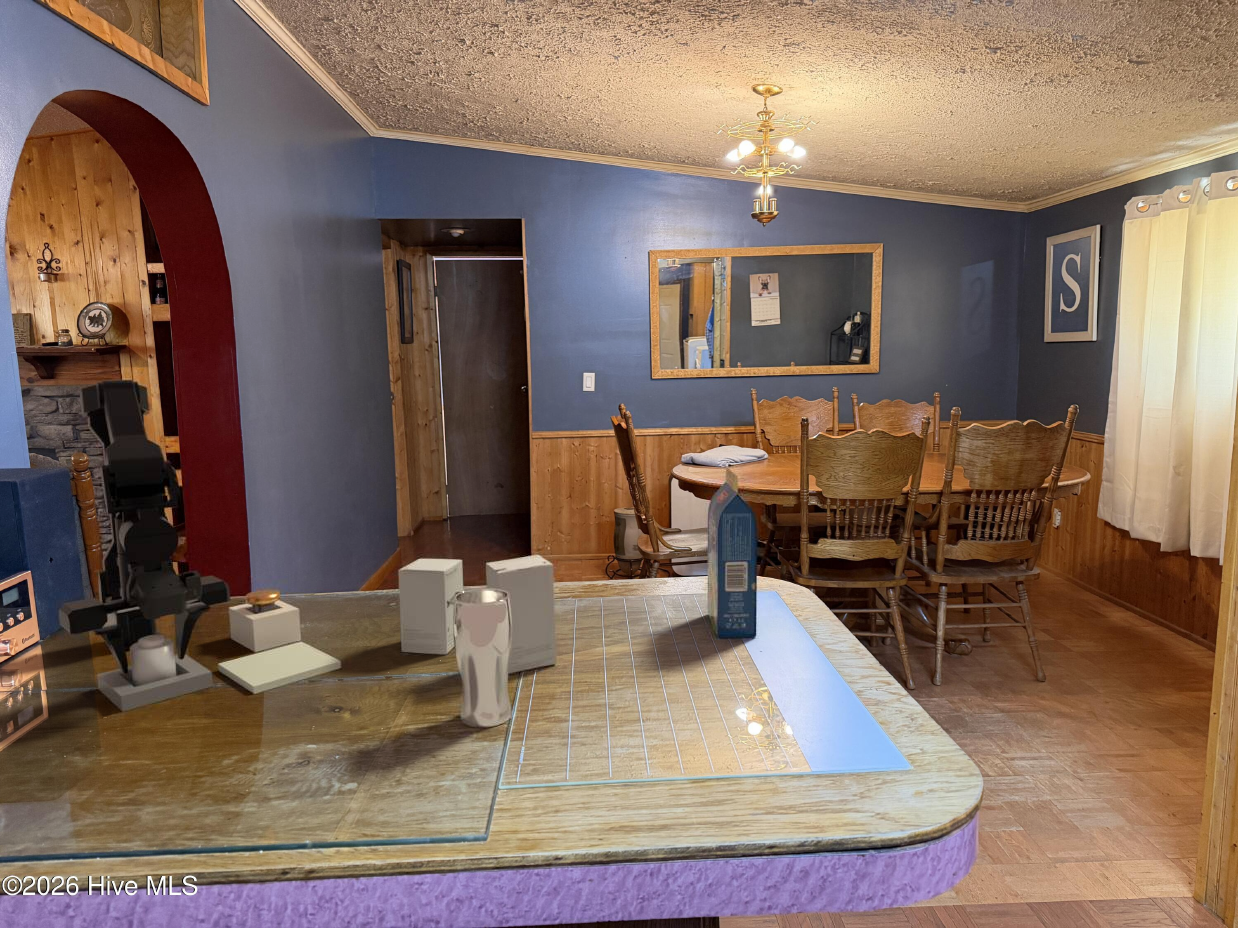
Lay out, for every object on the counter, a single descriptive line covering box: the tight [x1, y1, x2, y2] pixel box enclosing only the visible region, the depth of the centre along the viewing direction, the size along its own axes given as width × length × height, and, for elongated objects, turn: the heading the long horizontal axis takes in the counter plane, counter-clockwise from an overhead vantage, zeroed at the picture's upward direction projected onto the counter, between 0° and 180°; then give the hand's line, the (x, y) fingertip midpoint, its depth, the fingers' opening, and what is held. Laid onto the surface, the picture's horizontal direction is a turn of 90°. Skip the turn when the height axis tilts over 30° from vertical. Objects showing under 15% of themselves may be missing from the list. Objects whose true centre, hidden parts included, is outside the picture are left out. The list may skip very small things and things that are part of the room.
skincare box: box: [485, 554, 558, 675], centre depth 113 cm, size 8×6×15 cm
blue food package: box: [707, 465, 758, 639], centre depth 128 cm, size 6×12×25 cm, turn 1°
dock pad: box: [217, 641, 342, 695], centre depth 114 cm, size 12×12×1 cm
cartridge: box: [129, 634, 176, 687], centre depth 107 cm, size 5×5×7 cm
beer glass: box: [453, 587, 513, 729], centre depth 97 cm, size 7×7×15 cm
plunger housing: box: [228, 599, 302, 653], centre depth 126 cm, size 9×7×5 cm
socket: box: [96, 654, 214, 712], centre depth 108 cm, size 11×11×2 cm
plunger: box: [245, 589, 281, 614], centre depth 126 cm, size 5×5×6 cm
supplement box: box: [397, 558, 464, 655], centre depth 122 cm, size 7×7×13 cm
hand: (153, 665), depth 107 cm, fingers open, 6 cm apart
